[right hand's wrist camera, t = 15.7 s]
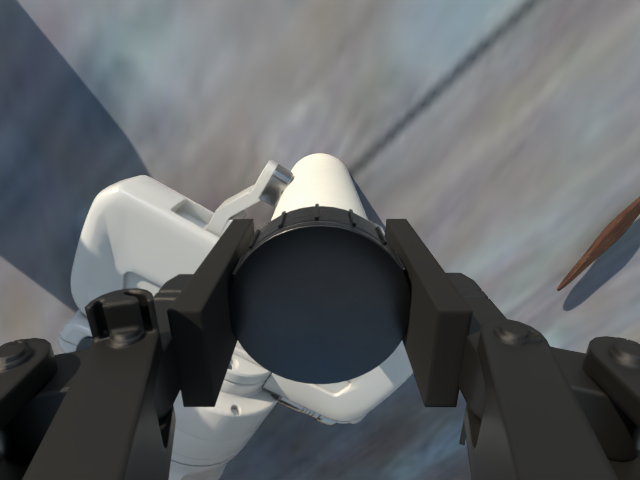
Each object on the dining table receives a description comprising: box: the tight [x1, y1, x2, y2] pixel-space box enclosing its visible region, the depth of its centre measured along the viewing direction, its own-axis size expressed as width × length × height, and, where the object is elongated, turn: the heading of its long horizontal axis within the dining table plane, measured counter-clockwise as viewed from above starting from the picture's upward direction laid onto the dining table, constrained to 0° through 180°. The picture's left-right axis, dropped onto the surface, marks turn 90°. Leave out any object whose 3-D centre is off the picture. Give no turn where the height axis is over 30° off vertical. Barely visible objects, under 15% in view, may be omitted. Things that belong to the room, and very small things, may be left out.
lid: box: [228, 204, 411, 384], centre depth 11 cm, size 5×5×2 cm
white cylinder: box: [271, 154, 369, 221], centre depth 18 cm, size 4×4×16 cm
